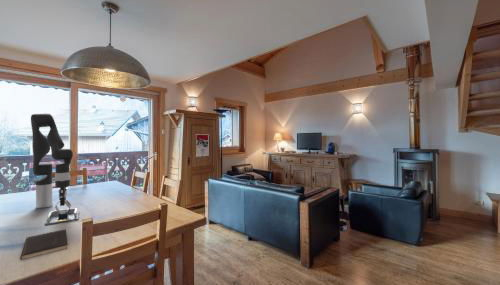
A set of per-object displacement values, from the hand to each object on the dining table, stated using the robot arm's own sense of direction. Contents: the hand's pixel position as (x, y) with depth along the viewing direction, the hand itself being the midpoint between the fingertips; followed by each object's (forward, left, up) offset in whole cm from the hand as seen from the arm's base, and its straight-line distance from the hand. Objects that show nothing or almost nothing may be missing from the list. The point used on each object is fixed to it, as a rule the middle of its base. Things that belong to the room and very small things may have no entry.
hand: (63, 203), depth 146 cm
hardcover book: (+41, -4, -10) cm, 42 cm away
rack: (0, 0, -10) cm, 10 cm away
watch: (0, 0, -9) cm, 9 cm away
